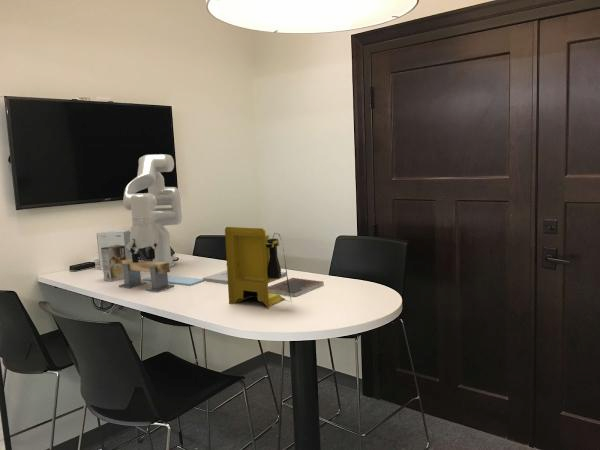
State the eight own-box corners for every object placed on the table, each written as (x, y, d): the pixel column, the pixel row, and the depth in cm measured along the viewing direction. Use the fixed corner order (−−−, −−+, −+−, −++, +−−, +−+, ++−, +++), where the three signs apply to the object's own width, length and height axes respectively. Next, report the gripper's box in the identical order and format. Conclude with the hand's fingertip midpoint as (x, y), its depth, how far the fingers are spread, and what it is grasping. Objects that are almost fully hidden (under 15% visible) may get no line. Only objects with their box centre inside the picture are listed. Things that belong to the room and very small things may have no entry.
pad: (158, 275, 247) (157, 274, 247) (205, 280, 232) (205, 279, 232) (142, 280, 238) (142, 278, 238) (190, 285, 224) (190, 284, 223)
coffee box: (120, 276, 249) (117, 244, 247) (128, 277, 245) (125, 245, 243) (103, 280, 242) (100, 247, 240) (111, 281, 238) (108, 248, 236)
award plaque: (236, 271, 252) (236, 267, 252) (286, 276, 237) (286, 272, 237) (203, 282, 232) (202, 277, 231) (255, 288, 216) (255, 283, 216)
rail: (128, 267, 232) (127, 258, 231) (169, 271, 219) (169, 262, 219) (121, 269, 228) (120, 260, 228) (163, 273, 216) (162, 264, 215)
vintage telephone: (305, 302, 191) (302, 224, 187) (286, 312, 179) (282, 229, 175) (239, 294, 207) (236, 222, 203) (218, 302, 195) (213, 226, 191)
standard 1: (136, 282, 235) (134, 260, 234) (146, 283, 231) (145, 261, 230) (118, 287, 226) (117, 264, 225) (129, 288, 223) (127, 265, 222)
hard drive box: (133, 266, 273) (130, 230, 271) (127, 269, 266) (124, 232, 263) (106, 266, 275) (103, 230, 273) (99, 269, 267) (96, 232, 265)
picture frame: (294, 298, 199) (323, 286, 216) (294, 292, 198) (323, 281, 216) (262, 293, 208) (292, 282, 226) (262, 288, 208) (292, 277, 225)
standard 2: (162, 285, 227) (160, 262, 225) (174, 286, 223) (172, 263, 222) (145, 290, 218) (144, 267, 217) (157, 292, 214) (155, 268, 213)
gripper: (149, 220, 230) (152, 256, 232) (119, 224, 215) (122, 263, 217) (161, 220, 226) (164, 257, 228) (131, 224, 212) (134, 264, 213)
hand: (144, 260), depth 223 cm, fingers open, 9 cm apart
